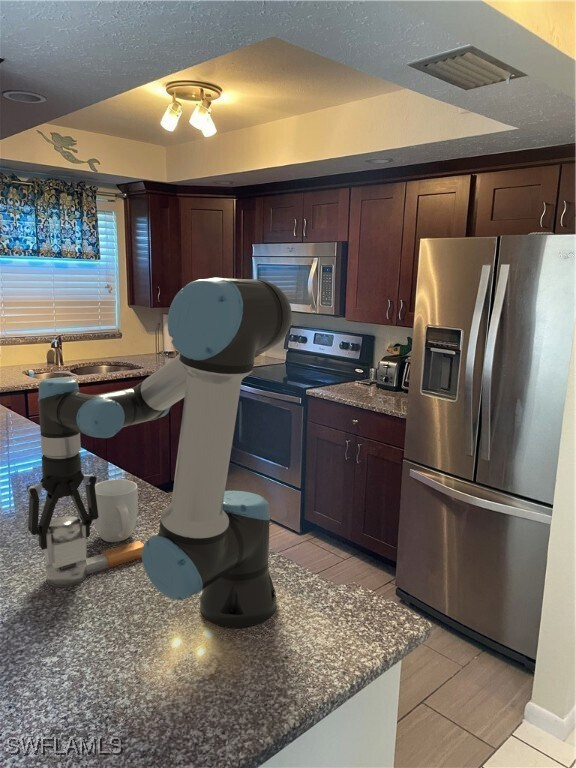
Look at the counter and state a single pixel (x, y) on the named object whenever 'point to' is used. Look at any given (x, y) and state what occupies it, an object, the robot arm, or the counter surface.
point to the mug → (116, 509)
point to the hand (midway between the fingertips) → (65, 556)
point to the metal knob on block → (67, 541)
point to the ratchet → (92, 565)
